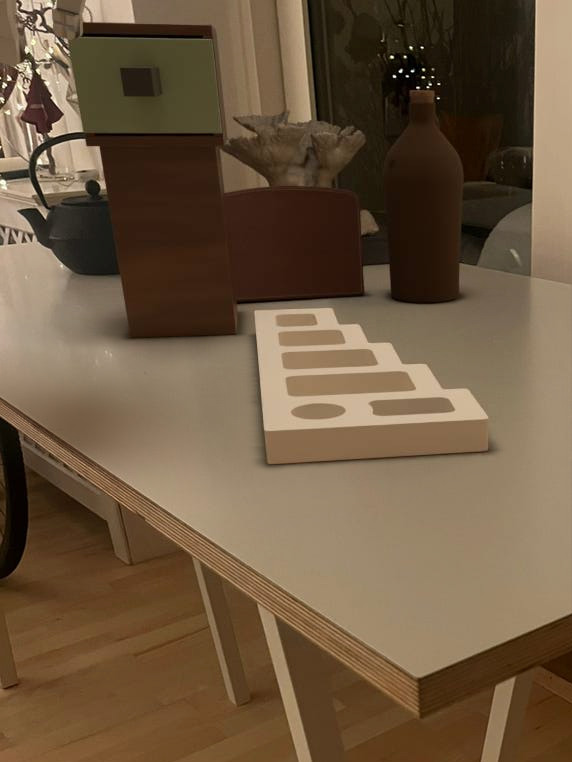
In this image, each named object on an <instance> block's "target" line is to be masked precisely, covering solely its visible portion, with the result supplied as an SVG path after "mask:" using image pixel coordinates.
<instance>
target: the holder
mask: <svg viewBox="0 0 572 762" xmlns="http://www.w3.org/2000/svg"><path fill="white" fill-rule="evenodd" d="M253 313H254V322H255V334H256V336H255V337H256V347H257V359H258V360H257V362H258V371H259V372H258V373H259V383H260V397H261V409H262V419H263V421H262V422H263V432H264V443H265V451H266V452H265V453H266V462H267V464H268V465H279V464H280V465H281V464H296V463H312V462H313V463H314V462H329V461H343V460H345V461H346V460H361V459H378V458H393V457H396V458H397V457H411V456H412V457H413V456H426V455H427V456H428V455H443V454H444V455H445V454H460V453H475V452H486V451H488V450H489V416H488V415H487V413H486V412H485V410H484V409H483V408H482V406H481V404H479V402H478V400H477V399H476V398H475V396H474V395H473V393H472V392H471V391H470V390H469V388H447V389H446V388H443V387H442V386H441V385H440V383H439V381H438V380H437V378H436V377H435V376H434V374H433V372H432V371H431V369H430V368H429V366H428V365H427V364H426V363H413V364H411V363H410V364H405V363H403V362H402V360H401V359H400V357H399V355H398V354H397V352H396V350H395V348H394V347H393V345H392V343H391V342H369V341H368V339H367V337H366V335H365V333H364V331H363V329H362V327H361V325H360V324H358V323H353V324H352V323H351V324H340V323H339V321H338V319H337V317H336V315H335V314H336V313H335V312H334V309H333V308H332V307H320V308H319V307H318V308H289V309H288V308H285V309H257V310H256V309H255V310H254V312H253Z"/></svg>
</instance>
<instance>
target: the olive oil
mask: <svg viewBox="0 0 572 762" xmlns="http://www.w3.org/2000/svg"><path fill="white" fill-rule="evenodd" d="M408 94H409V95H408V96H409V102H408V120H409V122H408V125H407V127H406V128H405V129H404V130H403V132H402V133H401V134H400V136H398V138H397V140H396V141H395V142H394V143H393V144H392V146H391V147H390V149H389V150H388V152H387V154H386V156H385V159H384V163H383V168H382V185H383V186H382V188H383V199H384V200H383V201H384V210H385V211H384V212H385V225H386V236H387V237H386V238H387V239H388V252H389V263H388V265H389V283H390V296H391V297H392V298H393V299H395V300H397V301H401V302H408V303H415V304H417V303H418V304H433V303H444V302H449V301H454V300H456V299H457V298H458V297H459V294H460V268H461V267H460V265H461V263H460V262H461V239H462V219H463V217H462V216H463V200H464V199H463V197H464V179H465V178H464V175H465V174H464V168H463V164H462V161H461V157H460V155H459V153H458V152H457V150H456V149H455V148H454V146H453V145H452V143H450V141H449V140H448V139H447V138H446V136H445V134H443V132H442V131H441V130H440V129H439V127H438V126H437V123H436V102H435V90H427V89H425V90H422V89H421V90H419V89H416V90H415V89H413V90H412V89H410V90H409V92H408Z"/></svg>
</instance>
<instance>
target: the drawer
mask: <svg viewBox="0 0 572 762" xmlns="http://www.w3.org/2000/svg"><path fill="white" fill-rule="evenodd" d="M67 44H68V50H69V56H70V57H69V58H70V63H71V68H72V73H73V81H74V86H75V90H76V91H75V92H76V97H77V103H78V108H79V115H80V122H81V126H82V127H81V128H82V133H83V134H84V133H222V127H221V118H220V108H219V99H218V89H217V80H216V71H215V61H214V52H213V43H212V39H167V38H109V37H78V38H76V39H73V40H67Z"/></svg>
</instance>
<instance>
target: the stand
mask: <svg viewBox="0 0 572 762" xmlns="http://www.w3.org/2000/svg"><path fill="white" fill-rule="evenodd" d="M80 37H109V38H167V39H212V43H213V52H214V61H215V71H216V80H217V89H218V99H219V108H220V118H221V127H222V133H83V135H84V140H85V146H86V147H99V155H100V158H101V166H102V171H103V177H104V178H103V179H104V184H105V190H106V196H107V202H108V208H109V215H110V220H111V226H112V227H111V228H112V234H113V238H114V246H115V251H116V257H117V263H118V269H119V270H118V271H119V276H120V282H121V288H122V289H121V290H122V295H123V300H124V306H125V311H126V313H125V314H126V321H127V325H128V331H129V337H130V338H132V339H137V338H166V337H192V336H193V337H195V336H197V337H199V336H224V335H225V336H227V335H228V336H229V335H237V330H238V315H239V314H238V313H239V312H238V304H237V302H236V292H235V283H234V274H233V265H232V256H231V246H230V237H229V228H228V219H227V210H226V200H225V193H226V192H225V191H226V190H225V182H224V174H223V165H222V163H223V162H222V156H221V155H222V153H221V149H220V146H225V143H226V140H227V138H228V131H227V121H226V112H225V101H224V100H225V99H224V92H223V84H222V83H223V81H222V74H221V62H220V55H219V53H220V52H219V43H218V35H217V29H216V28H215V27H214V26H213V25H212V24H205V23H204V24H203V23H162V22H161V23H159V22H158V23H157V22H156V23H153V22H109V21H107V22H106V21H105V22H104V21H103V22H102V21H83V34H82V36H80Z"/></svg>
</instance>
